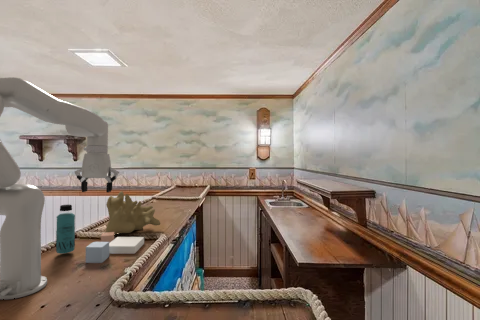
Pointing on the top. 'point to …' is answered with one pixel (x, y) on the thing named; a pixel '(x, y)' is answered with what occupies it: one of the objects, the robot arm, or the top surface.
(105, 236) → the terracotta block
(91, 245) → the grey-blue cube
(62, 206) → the beverage bottle
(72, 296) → the top surface
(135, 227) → the decorative coral
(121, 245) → the pedestal
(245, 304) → the top surface
